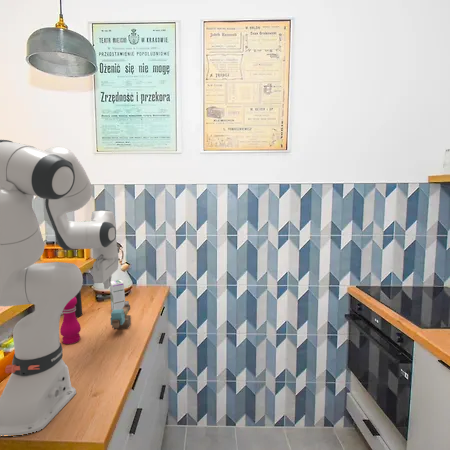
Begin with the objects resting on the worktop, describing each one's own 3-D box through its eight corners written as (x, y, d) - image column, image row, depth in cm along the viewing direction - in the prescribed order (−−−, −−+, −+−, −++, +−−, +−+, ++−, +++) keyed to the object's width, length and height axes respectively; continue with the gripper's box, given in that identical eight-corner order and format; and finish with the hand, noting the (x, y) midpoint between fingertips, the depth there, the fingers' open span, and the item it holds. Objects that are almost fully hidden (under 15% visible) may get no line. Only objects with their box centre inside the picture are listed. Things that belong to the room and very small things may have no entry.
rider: (122, 324, 129) (121, 313, 128) (110, 325, 128) (110, 313, 128) (124, 320, 132) (124, 309, 132) (113, 321, 132) (113, 309, 132)
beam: (123, 337, 127) (122, 318, 126) (108, 337, 127) (107, 318, 126) (134, 316, 147) (133, 300, 146) (121, 317, 147) (120, 300, 146)
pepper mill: (73, 345, 121) (69, 295, 118) (56, 344, 122) (52, 294, 120) (85, 336, 128) (81, 289, 125) (69, 335, 129) (65, 288, 127)
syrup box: (126, 310, 155) (124, 281, 153) (113, 313, 151) (112, 284, 150) (122, 307, 159) (121, 279, 158) (110, 309, 156) (108, 281, 154)
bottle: (85, 315, 150) (82, 274, 147) (70, 320, 145) (67, 277, 142) (78, 311, 154) (75, 271, 152) (64, 316, 149) (60, 275, 147)
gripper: (105, 258, 110) (108, 296, 112) (120, 247, 130) (122, 279, 132) (87, 258, 110) (89, 297, 111) (104, 247, 130) (106, 280, 132)
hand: (107, 287), depth 122 cm, fingers closed
